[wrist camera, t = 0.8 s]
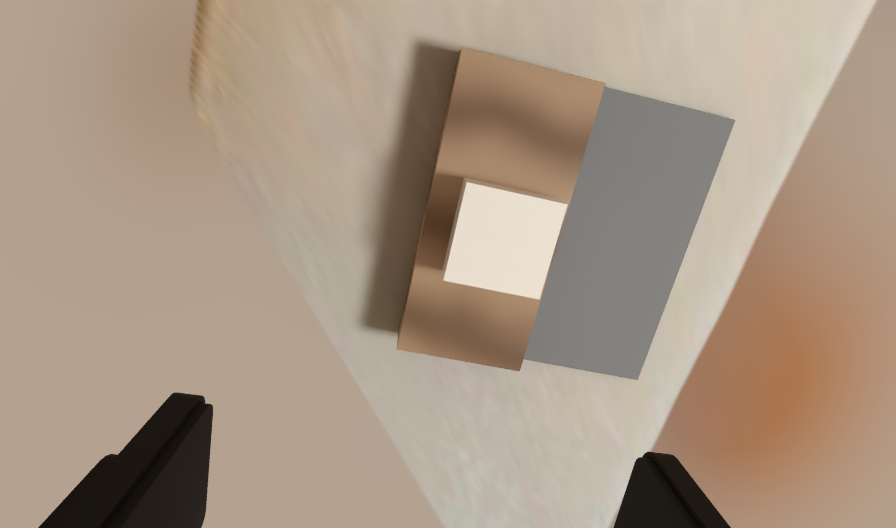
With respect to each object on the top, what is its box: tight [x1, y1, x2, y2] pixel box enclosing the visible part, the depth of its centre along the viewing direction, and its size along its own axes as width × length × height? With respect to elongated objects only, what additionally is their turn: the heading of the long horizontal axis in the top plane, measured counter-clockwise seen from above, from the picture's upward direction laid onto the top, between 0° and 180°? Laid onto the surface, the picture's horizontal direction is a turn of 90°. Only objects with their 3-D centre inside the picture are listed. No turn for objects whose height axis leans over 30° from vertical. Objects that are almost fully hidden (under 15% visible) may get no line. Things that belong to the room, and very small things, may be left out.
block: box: [442, 177, 568, 299], centre depth 31 cm, size 6×6×2 cm
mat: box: [523, 87, 735, 380], centre depth 34 cm, size 19×9×1 cm, turn 167°
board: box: [397, 47, 605, 371], centre depth 32 cm, size 19×8×2 cm, turn 167°
